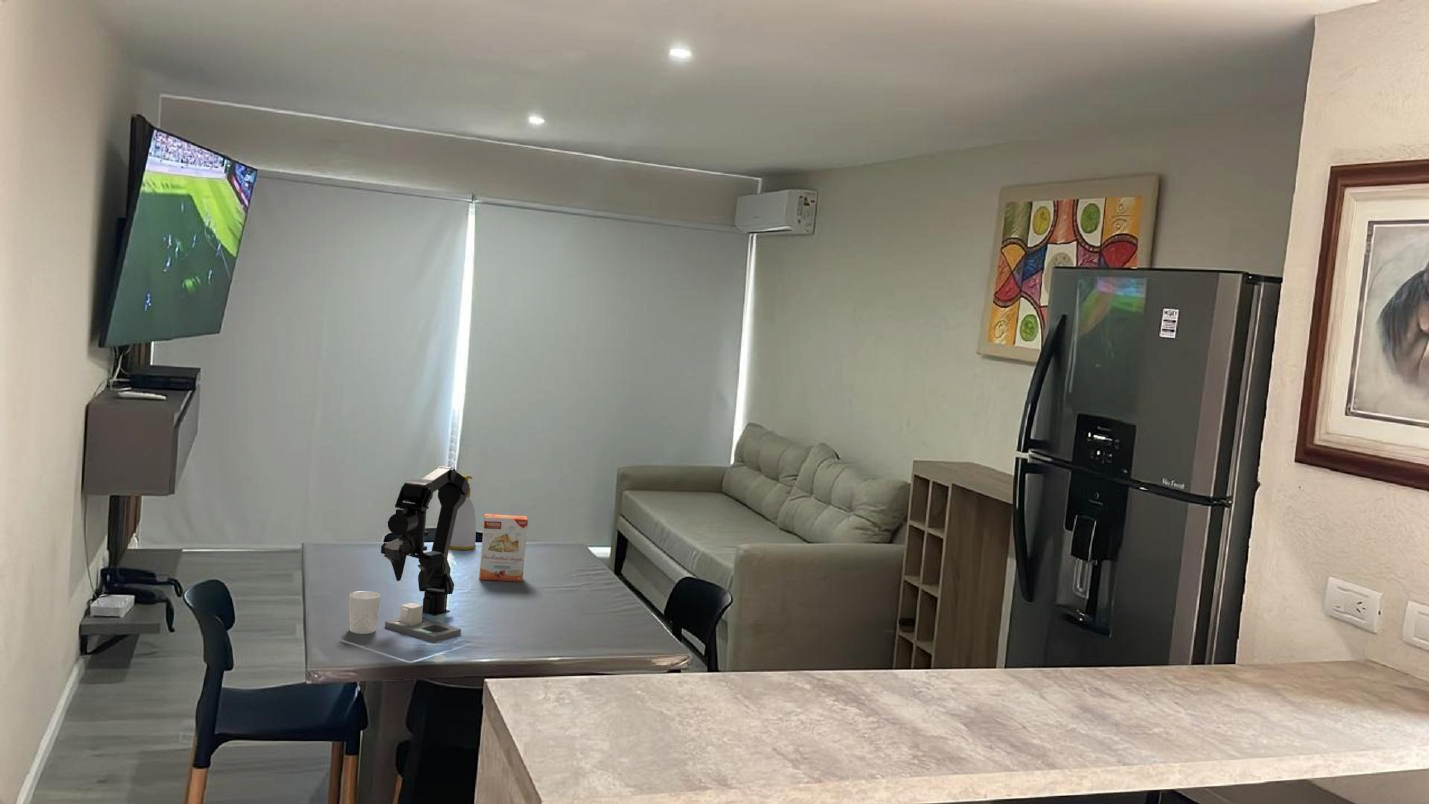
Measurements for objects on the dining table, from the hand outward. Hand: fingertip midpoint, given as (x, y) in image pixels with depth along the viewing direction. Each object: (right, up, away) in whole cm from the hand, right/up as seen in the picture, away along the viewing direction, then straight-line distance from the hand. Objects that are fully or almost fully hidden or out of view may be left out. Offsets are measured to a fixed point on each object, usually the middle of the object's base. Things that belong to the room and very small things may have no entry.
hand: (410, 584), depth 307 cm
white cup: (-11, -12, -5) cm, 17 cm away
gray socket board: (+3, -13, -1) cm, 13 cm away
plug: (0, -12, +1) cm, 12 cm away
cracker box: (+13, -9, +63) cm, 65 cm away
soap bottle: (-10, -3, +102) cm, 102 cm away
